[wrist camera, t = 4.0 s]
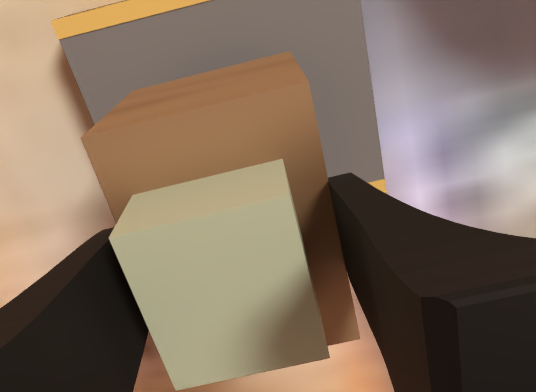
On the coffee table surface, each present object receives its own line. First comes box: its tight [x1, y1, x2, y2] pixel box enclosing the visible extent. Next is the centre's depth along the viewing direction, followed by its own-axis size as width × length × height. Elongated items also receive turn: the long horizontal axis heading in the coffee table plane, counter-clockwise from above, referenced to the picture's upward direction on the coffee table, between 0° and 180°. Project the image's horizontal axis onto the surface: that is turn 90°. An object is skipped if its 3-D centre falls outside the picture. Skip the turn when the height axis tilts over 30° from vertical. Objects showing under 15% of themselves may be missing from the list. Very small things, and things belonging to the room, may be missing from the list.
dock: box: [51, 0, 387, 193], centre depth 18 cm, size 9×10×2 cm
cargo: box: [109, 159, 330, 391], centre depth 11 cm, size 4×4×2 cm
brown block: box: [81, 51, 360, 346], centre depth 14 cm, size 7×5×5 cm
